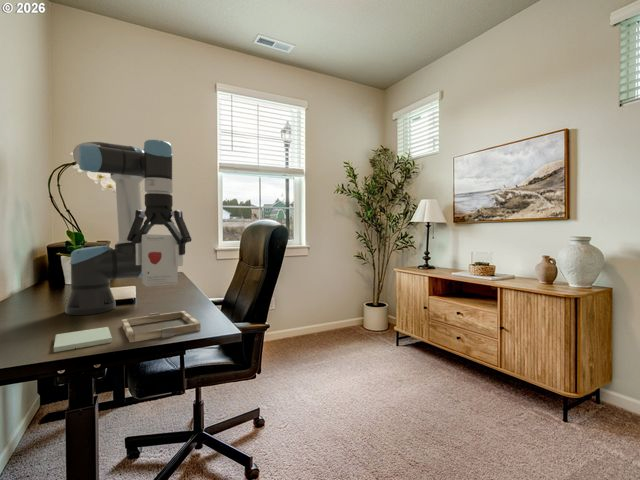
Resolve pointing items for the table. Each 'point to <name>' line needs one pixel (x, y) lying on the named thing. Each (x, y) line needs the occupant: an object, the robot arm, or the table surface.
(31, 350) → the table surface
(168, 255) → the supplement box
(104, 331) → the coaster pad
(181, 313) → the birch collar
